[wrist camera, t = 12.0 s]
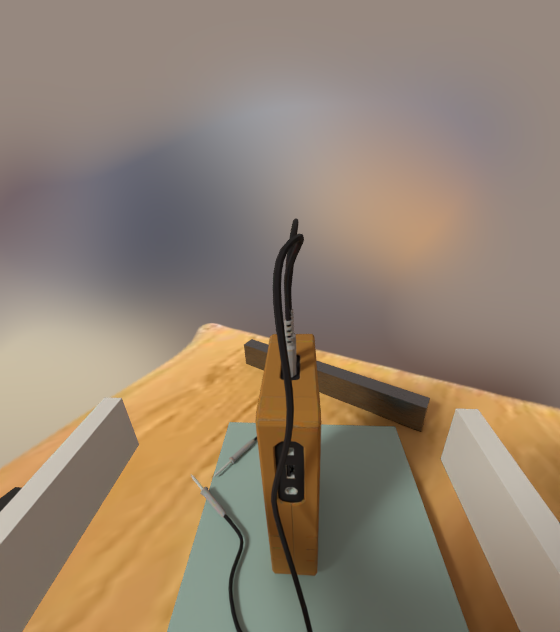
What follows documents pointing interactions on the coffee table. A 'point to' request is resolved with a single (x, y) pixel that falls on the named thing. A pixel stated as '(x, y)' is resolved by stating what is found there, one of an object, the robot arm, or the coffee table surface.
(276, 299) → the corded orange upright block
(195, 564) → the plate
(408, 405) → the guide rail
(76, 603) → the coffee table surface
